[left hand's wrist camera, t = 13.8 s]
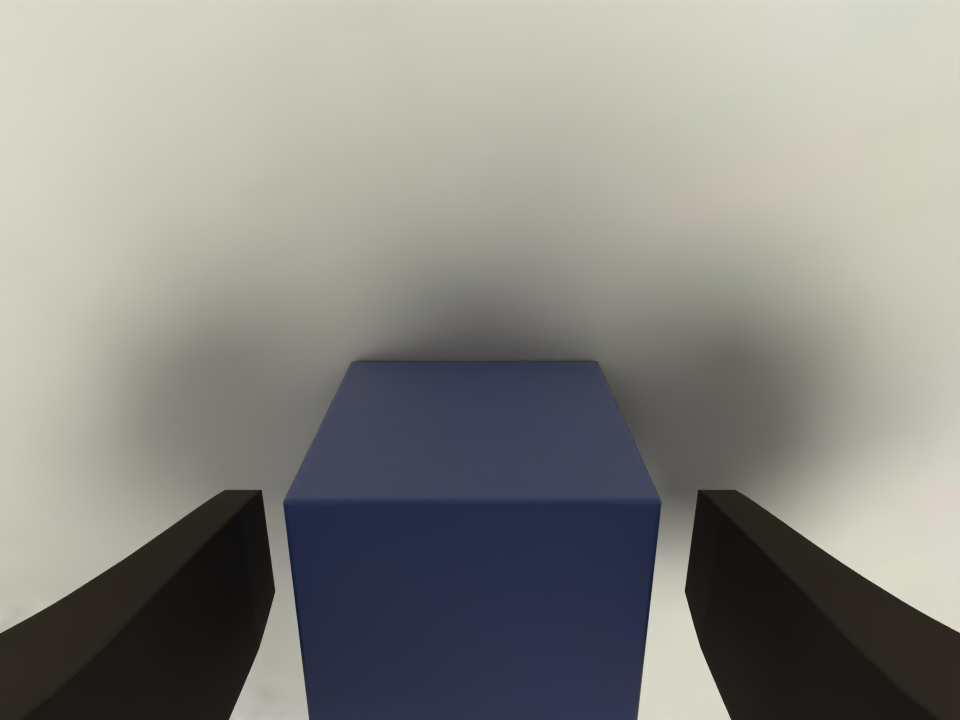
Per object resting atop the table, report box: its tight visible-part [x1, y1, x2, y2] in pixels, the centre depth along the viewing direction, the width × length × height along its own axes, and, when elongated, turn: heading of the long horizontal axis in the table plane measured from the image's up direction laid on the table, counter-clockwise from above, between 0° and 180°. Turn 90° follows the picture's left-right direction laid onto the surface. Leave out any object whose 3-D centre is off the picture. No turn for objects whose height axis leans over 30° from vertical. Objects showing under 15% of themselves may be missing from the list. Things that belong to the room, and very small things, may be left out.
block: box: [283, 362, 661, 720], centre depth 11 cm, size 5×4×5 cm
